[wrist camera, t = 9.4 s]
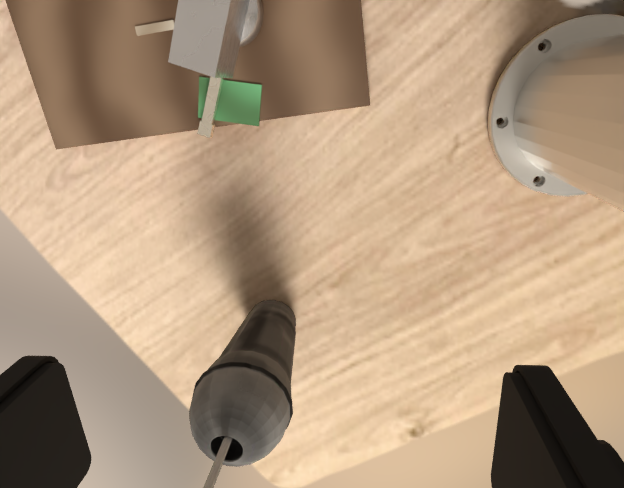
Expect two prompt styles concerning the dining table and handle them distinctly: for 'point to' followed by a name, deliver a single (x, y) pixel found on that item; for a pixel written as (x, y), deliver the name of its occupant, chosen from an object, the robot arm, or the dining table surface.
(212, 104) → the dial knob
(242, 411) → the beverage cup
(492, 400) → the dining table surface
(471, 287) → the dining table surface
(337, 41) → the board
